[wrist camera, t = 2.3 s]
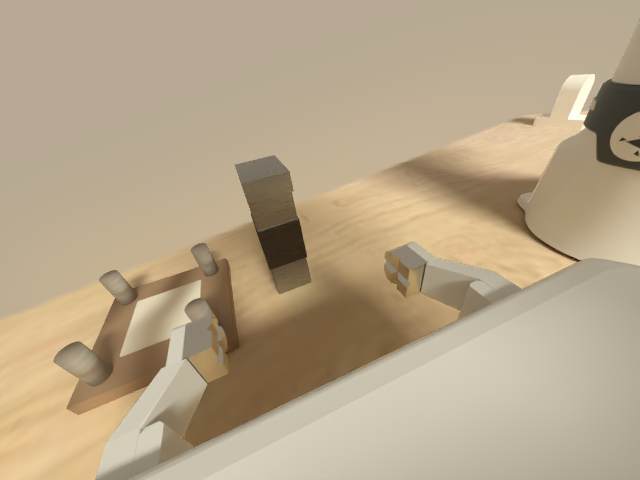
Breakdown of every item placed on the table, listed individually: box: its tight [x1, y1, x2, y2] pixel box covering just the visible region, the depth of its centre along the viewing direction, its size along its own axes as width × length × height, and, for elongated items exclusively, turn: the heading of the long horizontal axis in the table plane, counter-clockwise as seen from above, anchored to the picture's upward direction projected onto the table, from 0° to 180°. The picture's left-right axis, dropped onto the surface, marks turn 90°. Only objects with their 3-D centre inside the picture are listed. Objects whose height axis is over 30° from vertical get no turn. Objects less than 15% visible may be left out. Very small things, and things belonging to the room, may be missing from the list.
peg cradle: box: [54, 243, 239, 415], centre depth 22 cm, size 12×12×5 cm
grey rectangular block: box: [235, 156, 311, 294], centre depth 23 cm, size 4×5×13 cm
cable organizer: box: [533, 74, 595, 130], centre depth 54 cm, size 5×10×10 cm, turn 30°
